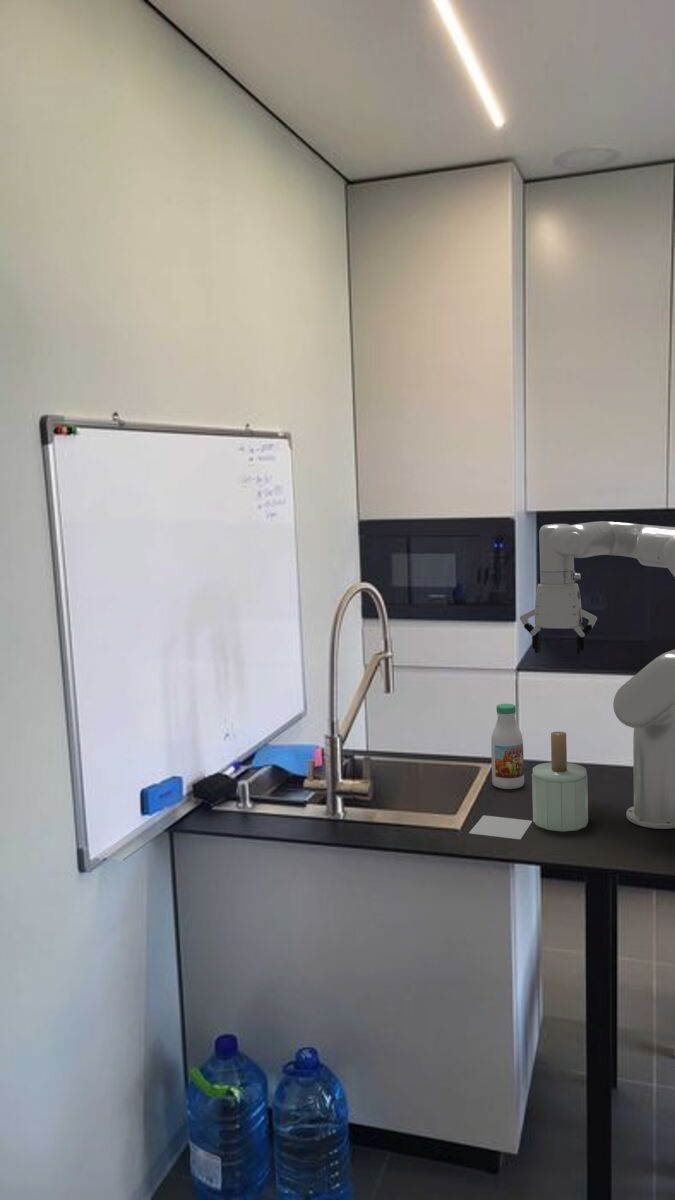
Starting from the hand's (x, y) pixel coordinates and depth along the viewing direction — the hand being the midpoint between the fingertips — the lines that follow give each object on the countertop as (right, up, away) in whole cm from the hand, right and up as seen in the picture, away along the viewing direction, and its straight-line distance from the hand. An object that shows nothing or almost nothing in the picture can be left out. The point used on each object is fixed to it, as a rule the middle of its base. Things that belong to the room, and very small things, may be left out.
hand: (558, 652), depth 208 cm
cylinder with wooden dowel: (-3, -36, -12) cm, 38 cm away
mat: (-16, -37, -14) cm, 43 cm away
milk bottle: (-9, -34, +15) cm, 38 cm away
